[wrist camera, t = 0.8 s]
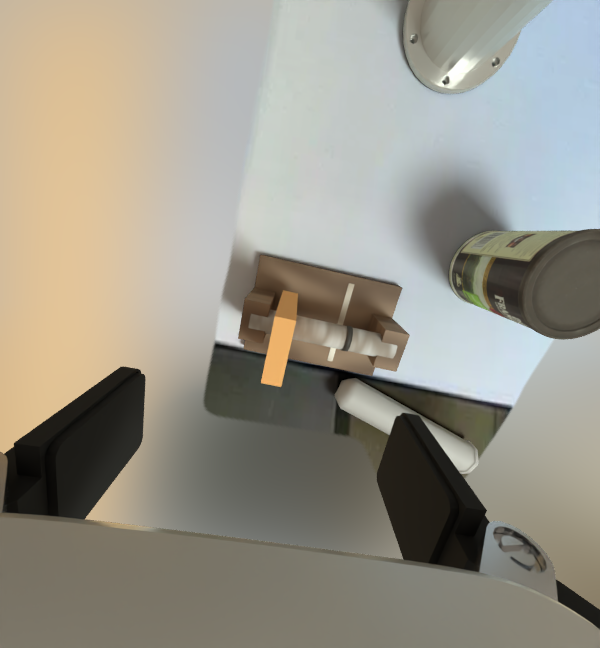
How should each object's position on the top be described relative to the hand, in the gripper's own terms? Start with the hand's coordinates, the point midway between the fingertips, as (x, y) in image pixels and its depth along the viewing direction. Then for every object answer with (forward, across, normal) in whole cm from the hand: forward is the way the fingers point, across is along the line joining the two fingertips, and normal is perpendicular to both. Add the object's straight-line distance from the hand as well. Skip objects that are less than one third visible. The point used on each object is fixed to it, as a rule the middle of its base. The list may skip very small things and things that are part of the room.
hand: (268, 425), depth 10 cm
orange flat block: (+28, 0, +3) cm, 28 cm away
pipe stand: (+31, -5, +3) cm, 32 cm away
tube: (+32, -22, +18) cm, 43 cm away
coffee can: (+31, -27, -8) cm, 42 cm away
